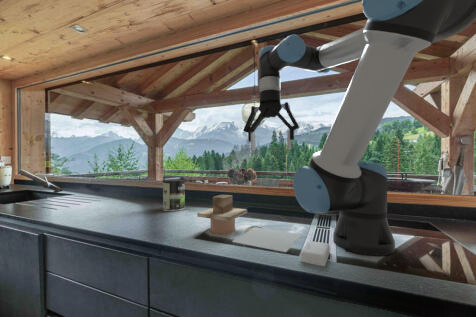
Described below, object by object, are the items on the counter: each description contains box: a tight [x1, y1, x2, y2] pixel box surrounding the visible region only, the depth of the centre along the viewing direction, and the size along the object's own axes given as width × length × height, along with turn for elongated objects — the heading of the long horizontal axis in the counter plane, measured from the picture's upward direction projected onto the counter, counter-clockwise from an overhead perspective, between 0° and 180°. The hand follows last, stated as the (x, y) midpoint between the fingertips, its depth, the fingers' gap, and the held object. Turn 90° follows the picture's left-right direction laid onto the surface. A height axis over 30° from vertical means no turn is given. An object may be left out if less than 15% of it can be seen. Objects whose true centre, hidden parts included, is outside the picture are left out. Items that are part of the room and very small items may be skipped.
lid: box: [196, 194, 248, 221], centre depth 78 cm, size 12×12×6 cm
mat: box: [231, 226, 302, 253], centre depth 70 cm, size 16×16×1 cm
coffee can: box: [162, 178, 186, 212], centre depth 112 cm, size 10×10×14 cm
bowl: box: [210, 218, 236, 235], centre depth 78 cm, size 8×8×6 cm
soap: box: [300, 240, 331, 267], centre depth 57 cm, size 9×6×3 cm, turn 151°
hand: (270, 150), depth 84 cm, fingers open, 13 cm apart
